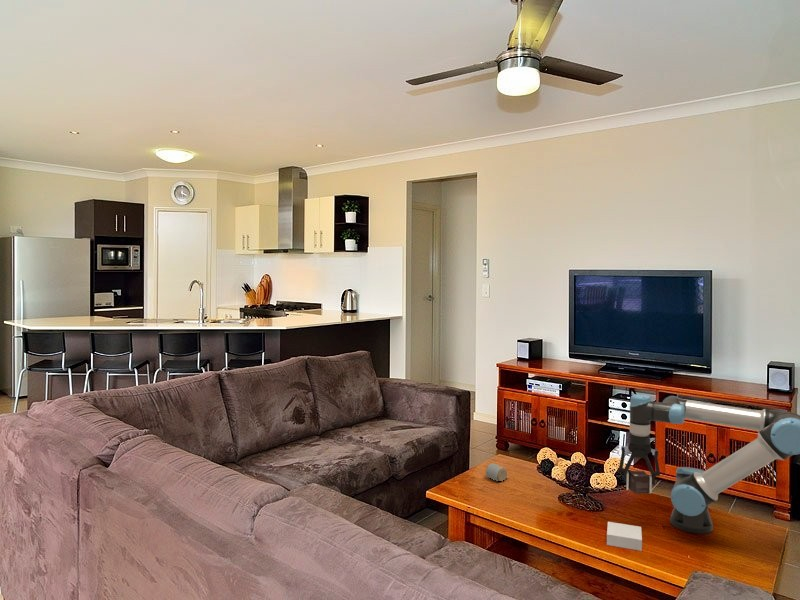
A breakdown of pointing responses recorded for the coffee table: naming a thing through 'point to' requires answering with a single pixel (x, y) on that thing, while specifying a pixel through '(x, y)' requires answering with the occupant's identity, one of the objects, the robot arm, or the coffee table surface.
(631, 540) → the base block
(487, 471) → the ceramic mug
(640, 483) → the box
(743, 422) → the robot arm
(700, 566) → the coffee table surface
